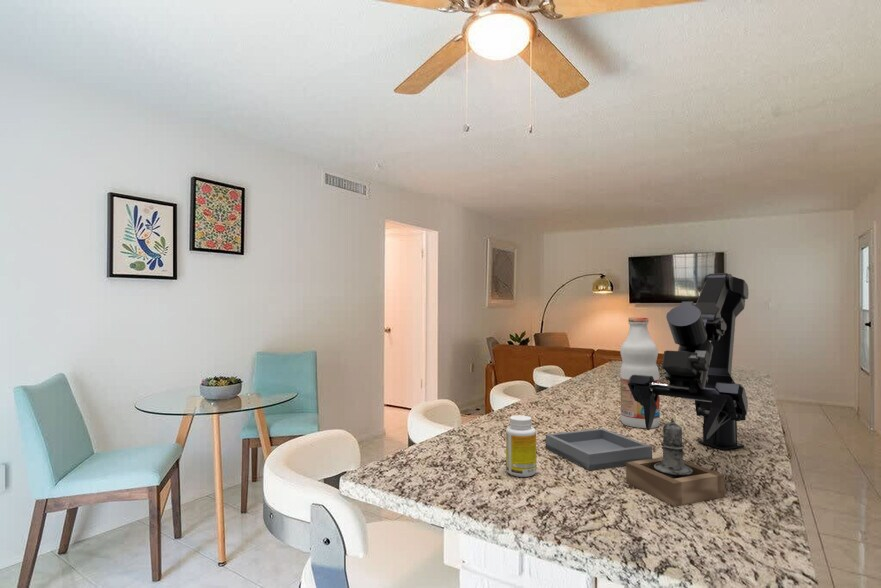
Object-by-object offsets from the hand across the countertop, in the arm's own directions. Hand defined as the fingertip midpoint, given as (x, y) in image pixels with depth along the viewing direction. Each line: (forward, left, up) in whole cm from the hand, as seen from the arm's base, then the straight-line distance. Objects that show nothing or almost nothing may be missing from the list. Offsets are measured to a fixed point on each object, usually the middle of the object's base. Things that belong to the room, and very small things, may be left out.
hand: (675, 433), depth 80 cm
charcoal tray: (+1, -19, -9) cm, 21 cm away
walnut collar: (+1, +1, -9) cm, 9 cm away
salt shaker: (+1, +1, -9) cm, 9 cm away
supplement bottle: (+21, -15, -9) cm, 28 cm away
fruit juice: (-26, -36, -9) cm, 45 cm away
